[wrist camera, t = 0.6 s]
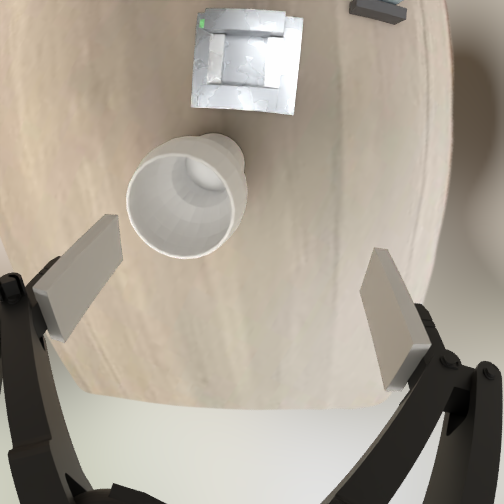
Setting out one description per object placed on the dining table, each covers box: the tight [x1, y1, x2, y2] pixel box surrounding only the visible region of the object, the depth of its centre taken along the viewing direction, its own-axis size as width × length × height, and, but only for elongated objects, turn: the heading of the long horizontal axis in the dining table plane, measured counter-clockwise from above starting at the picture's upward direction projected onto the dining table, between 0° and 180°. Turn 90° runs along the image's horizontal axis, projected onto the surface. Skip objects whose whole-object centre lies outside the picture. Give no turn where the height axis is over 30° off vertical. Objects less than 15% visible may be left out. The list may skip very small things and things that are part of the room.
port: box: [191, 8, 303, 115], centre depth 30 cm, size 12×12×5 cm
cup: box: [126, 133, 248, 259], centre depth 32 cm, size 11×11×15 cm
